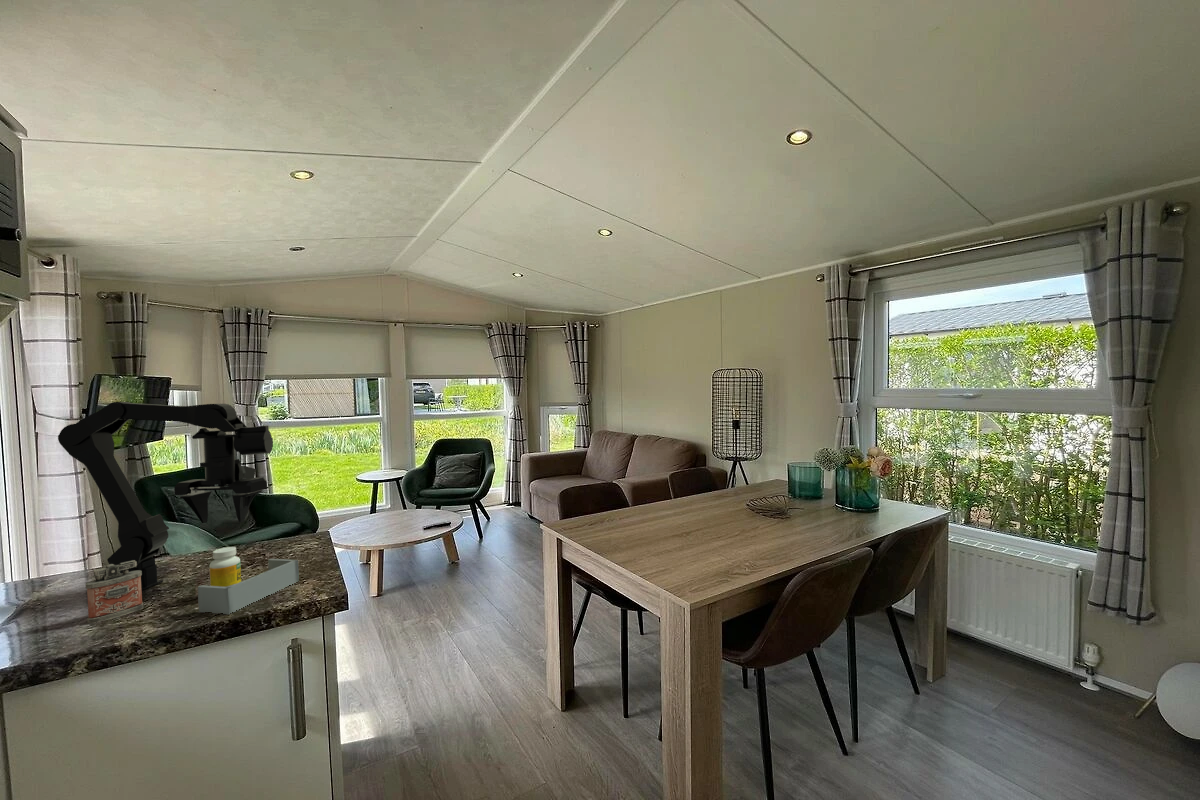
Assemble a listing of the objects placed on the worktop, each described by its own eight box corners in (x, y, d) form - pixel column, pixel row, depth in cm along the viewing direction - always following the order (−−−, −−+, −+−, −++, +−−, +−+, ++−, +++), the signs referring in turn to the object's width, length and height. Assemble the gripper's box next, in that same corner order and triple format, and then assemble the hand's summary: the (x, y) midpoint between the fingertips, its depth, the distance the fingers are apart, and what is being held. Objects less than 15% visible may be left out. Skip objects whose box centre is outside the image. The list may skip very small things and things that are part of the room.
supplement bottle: (210, 594, 107) (208, 549, 107) (240, 587, 110) (238, 544, 110) (211, 601, 103) (208, 555, 102) (242, 594, 106) (240, 549, 106)
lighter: (90, 624, 93) (87, 572, 93) (85, 621, 95) (82, 569, 95) (146, 608, 100) (143, 559, 100) (140, 605, 102) (137, 557, 102)
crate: (198, 611, 97) (197, 586, 97) (272, 580, 114) (271, 558, 114) (229, 614, 96) (227, 588, 96) (298, 581, 112) (297, 559, 112)
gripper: (281, 451, 124) (284, 513, 124) (211, 453, 125) (214, 514, 125) (247, 457, 113) (250, 525, 113) (170, 459, 114) (174, 526, 114)
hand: (223, 522), depth 117 cm, fingers open, 9 cm apart
